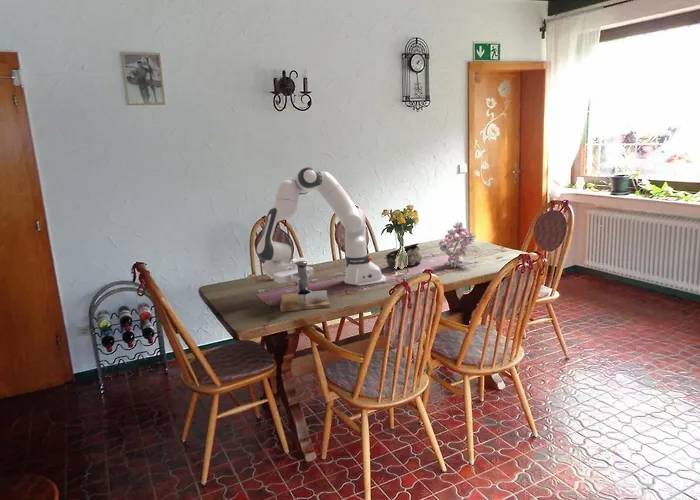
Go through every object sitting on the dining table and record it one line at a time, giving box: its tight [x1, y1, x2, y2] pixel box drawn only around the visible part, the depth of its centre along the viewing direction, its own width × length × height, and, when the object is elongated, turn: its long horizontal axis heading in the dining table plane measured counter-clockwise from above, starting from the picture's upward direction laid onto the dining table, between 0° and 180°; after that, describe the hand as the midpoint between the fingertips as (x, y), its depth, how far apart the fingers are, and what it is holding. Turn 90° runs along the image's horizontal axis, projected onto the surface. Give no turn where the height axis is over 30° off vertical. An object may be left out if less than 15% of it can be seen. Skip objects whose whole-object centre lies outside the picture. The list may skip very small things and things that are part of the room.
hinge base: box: [280, 296, 331, 313], centre depth 252 cm, size 23×11×2 cm, turn 98°
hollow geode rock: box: [383, 242, 423, 270], centre depth 311 cm, size 28×13×15 cm
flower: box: [436, 219, 476, 268], centre depth 308 cm, size 20×22×25 cm
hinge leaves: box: [281, 289, 328, 305], centre depth 251 cm, size 21×8×5 cm, turn 98°
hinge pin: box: [296, 260, 308, 295], centre depth 249 cm, size 5×5×16 cm
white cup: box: [291, 257, 307, 264], centre depth 302 cm, size 8×8×10 cm
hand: (303, 277), depth 248 cm, fingers closed on hinge pin, 4 cm apart
